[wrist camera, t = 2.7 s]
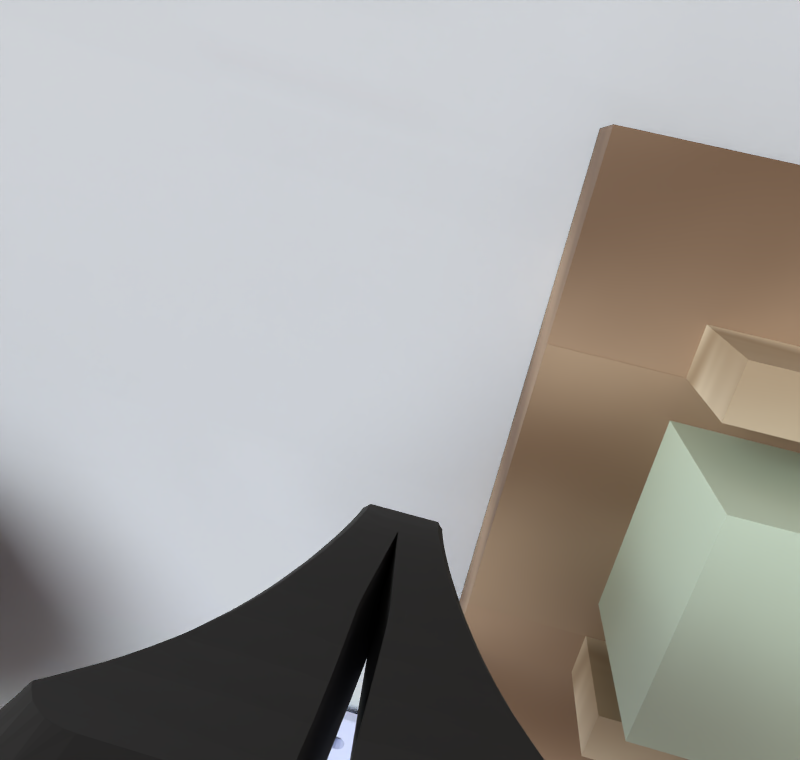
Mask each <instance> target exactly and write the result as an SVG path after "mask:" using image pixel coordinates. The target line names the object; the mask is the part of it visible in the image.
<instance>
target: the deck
mask: <svg viewBox="0 0 800 760" xmlns="http://www.w3.org/2000/svg"><path fill="white" fill-rule="evenodd" d="M670 421H674V422H678V423H682V424H686V425H690V426H694V427H698V428H702V429H706V430H710V431H714V432H718V433H721V434H725V435H729V436H733V437H737V438H741V439H745V440H749V441H753V442H757V443H761V444H765V445H769V446H773V447H777V448H781V449H785V450H789V451H793V452H797V453H800V165H797V164H792V163H788V162H783V161H779V160H774V159H769V158H765V157H760V156H756V155H751V154H747V153H742V152H737V151H733V150H728V149H724V148H719V147H714V146H710V145H705V144H701V143H696V142H692V141H687V140H682V139H678V138H673V137H669V136H664V135H660V134H655V133H650V132H646V131H641V130H637V129H632V128H627V127H623V126H618V125H614V124H613V125H610V126H607V127H603V128H600V130H599V133H598V137H597V140H596V143H595V147H594V150H593V153H592V157H591V160H590V164H589V167H588V170H587V174H586V177H585V180H584V184H583V187H582V190H581V194H580V197H579V201H578V204H577V207H576V211H575V214H574V217H573V221H572V224H571V228H570V231H569V234H568V238H567V241H566V244H565V248H564V251H563V254H562V258H561V261H560V265H559V268H558V271H557V275H556V278H555V281H554V285H553V288H552V291H551V295H550V298H549V302H548V305H547V308H546V312H545V315H544V318H543V322H542V325H541V329H540V332H539V335H538V339H537V342H536V345H535V349H534V352H533V355H532V359H531V362H530V366H529V369H528V372H527V376H526V379H525V382H524V386H523V389H522V392H521V396H520V399H519V403H518V406H517V409H516V413H515V416H514V419H513V423H512V426H511V430H510V433H509V436H508V440H507V443H506V446H505V450H504V453H503V456H502V460H501V463H500V467H499V470H498V473H497V477H496V480H495V483H494V487H493V490H492V494H491V497H490V500H489V504H488V507H487V510H486V514H485V517H484V520H483V524H482V527H481V531H480V534H479V537H478V541H477V544H476V547H475V551H474V554H473V557H472V561H471V564H470V568H469V571H468V574H467V578H466V581H465V584H464V588H463V591H462V595H461V598H460V601H459V602H460V605H461V608H462V611H463V614H464V616H465V619H466V621H467V624H468V626H469V629H470V631H471V633H472V636H473V638H474V641H475V643H476V645H477V647H478V650H479V652H480V654H481V656H482V658H483V660H484V662H485V664H486V666H487V668H488V670H489V672H490V674H491V676H492V678H493V680H494V682H495V683H496V685H497V687H498V689H499V691H500V692H501V694H502V696H503V698H504V699H505V701H506V703H507V704H508V706H509V708H510V710H511V711H512V713H513V715H514V716H515V718H516V719H517V721H518V722H519V723H520V725H521V726H522V728H523V729H524V731H525V732H526V734H527V735H528V737H529V738H530V740H531V741H532V743H533V744H534V746H535V747H536V749H537V750H538V752H539V753H540V754H541V756H542V757H543V759H544V760H689V759H685V758H682V757H678V756H675V755H672V754H668V753H665V752H661V751H658V750H654V749H651V748H647V747H644V746H641V745H637V744H634V743H630V742H627V741H626V740H625V735H624V730H623V725H622V720H621V715H620V710H619V705H618V700H617V695H616V690H615V685H614V680H613V675H612V670H611V665H610V660H609V655H608V650H607V645H606V640H605V635H604V630H603V625H602V620H601V615H600V610H599V605H598V604H599V601H600V599H601V596H602V593H603V591H604V588H605V586H606V583H607V581H608V578H609V576H610V573H611V570H612V568H613V565H614V563H615V560H616V558H617V555H618V552H619V550H620V547H621V545H622V542H623V540H624V537H625V534H626V532H627V529H628V527H629V524H630V522H631V519H632V516H633V514H634V511H635V509H636V506H637V504H638V501H639V499H640V496H641V493H642V491H643V488H644V486H645V483H646V481H647V478H648V475H649V473H650V470H651V468H652V465H653V463H654V460H655V457H656V455H657V452H658V450H659V447H660V445H661V442H662V439H663V437H664V434H665V432H666V429H667V427H668V424H669V422H670Z"/></svg>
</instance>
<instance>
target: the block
mask: <svg viewBox="0 0 800 760" xmlns="http://www.w3.org/2000/svg"><path fill="white" fill-rule="evenodd" d="M598 605H599V610H600V615H601V620H602V625H603V630H604V635H605V640H606V645H607V650H608V655H609V660H610V665H611V670H612V675H613V680H614V685H615V690H616V695H617V700H618V705H619V710H620V715H621V720H622V725H623V730H624V735H625V740H626V741H627V742H630V743H634V744H637V745H641V746H644V747H647V748H651V749H654V750H658V751H661V752H665V753H668V754H672V755H675V756H678V757H682V758H685V759H689V760H800V453H797V452H793V451H789V450H785V449H781V448H777V447H773V446H769V445H765V444H761V443H757V442H753V441H749V440H745V439H741V438H737V437H733V436H729V435H725V434H721V433H718V432H714V431H710V430H706V429H702V428H698V427H694V426H690V425H686V424H682V423H678V422H674V421H670V422H669V424H668V427H667V429H666V432H665V434H664V437H663V439H662V442H661V445H660V447H659V450H658V452H657V455H656V457H655V460H654V463H653V465H652V468H651V470H650V473H649V475H648V478H647V481H646V483H645V486H644V488H643V491H642V493H641V496H640V499H639V501H638V504H637V506H636V509H635V511H634V514H633V516H632V519H631V522H630V524H629V527H628V529H627V532H626V534H625V537H624V540H623V542H622V545H621V547H620V550H619V552H618V555H617V558H616V560H615V563H614V565H613V568H612V570H611V573H610V576H609V578H608V581H607V583H606V586H605V588H604V591H603V593H602V596H601V599H600V601H599V604H598Z"/></svg>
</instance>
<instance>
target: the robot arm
mask: <svg viewBox="0 0 800 760" xmlns="http://www.w3.org/2000/svg"><path fill="white" fill-rule="evenodd" d="M366 659H367V661H366ZM365 661H366V667H365V673H364V679H363V685H362V691H361V697H360V703H359V709H358V714H354V713H351V712H348V711H346V710H347V708H348V705H349V703H350V700H351V698H352V695H353V692H354V690H355V687H356V685H357V682H358V679H359V677H360V674H361V672H362V669H363V667H364V664H365ZM336 737H339V738H341V739H337V738H336ZM0 760H544V759H543V757H542V756H541V754H540V753H539V752H538V750H537V749H536V747H535V746H534V744H533V743H532V741H531V740H530V738H529V737H528V735H527V734H526V732H525V731H524V729H523V728H522V726H521V725H520V723H519V722H518V721H517V719H516V718H515V716H514V715H513V713H512V711H511V710H510V708H509V706H508V704H507V703H506V701H505V699H504V698H503V696H502V694H501V692H500V691H499V689H498V687H497V685H496V683H495V682H494V680H493V678H492V676H491V674H490V672H489V670H488V668H487V666H486V664H485V662H484V660H483V658H482V656H481V654H480V652H479V650H478V647H477V645H476V643H475V641H474V638H473V636H472V633H471V631H470V629H469V626H468V624H467V621H466V619H465V616H464V614H463V611H462V608H461V605H460V602H459V599H458V596H457V593H456V590H455V587H454V584H453V581H452V578H451V574H450V571H449V567H448V563H447V558H446V554H445V549H444V544H443V536H442V528H441V527H440V525H439V523H438V522H435V521H432V520H428V519H424V518H420V517H417V516H413V515H409V514H406V513H402V512H398V511H395V510H391V509H387V508H383V507H380V506H376V505H372V504H370V505H368V506H366V507H364V508H363V509H362V510H361V511H360V513H359V514H358V515H357V516H356V517H355V518H354V519H353V520H352V521H351V522H350V523H349V524H348V525H347V526H346V527H345V528H344V529H343V530H342V531H341V532H340V533H339V534H338V535H337V536H336V537H335V538H334V539H332V540H331V541H330V542H329V543H328V544H327V545H325V546H324V547H323V548H322V549H321V550H319V551H318V552H317V553H316V554H315V555H314V556H312V557H311V558H310V559H309V560H307V561H306V562H305V563H303V564H302V565H301V566H299V567H298V568H297V569H295V570H294V571H292V572H291V573H290V574H288V575H287V576H286V577H284V578H283V579H281V580H280V581H279V582H277V583H276V584H274V585H273V586H271V587H270V588H268V589H267V590H265V591H263V592H262V593H260V594H259V595H257V596H255V597H254V598H252V599H250V600H249V601H247V602H245V603H243V604H242V605H240V606H238V607H237V608H235V609H233V610H231V611H229V612H227V613H225V614H223V615H221V616H219V617H217V618H215V619H213V620H211V621H209V622H207V623H205V624H203V625H201V626H199V627H197V628H195V629H193V630H191V631H189V632H186V633H184V634H182V635H179V636H177V637H174V638H172V639H169V640H167V641H164V642H162V643H159V644H156V645H154V646H151V647H148V648H145V649H142V650H140V651H137V652H134V653H131V654H128V655H125V656H122V657H119V658H116V659H113V660H109V661H106V662H103V663H99V664H95V665H91V666H88V667H84V668H80V669H77V670H73V671H69V672H66V673H62V674H58V675H55V676H51V677H47V678H43V679H38V680H34V681H32V682H30V683H29V684H28V685H27V686H26V687H25V688H24V689H23V690H22V691H21V692H20V693H19V694H18V695H17V696H16V697H14V698H13V699H12V700H11V701H10V702H9V703H7V704H6V705H5V706H4V707H3V708H2V709H1V710H0Z"/></svg>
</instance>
